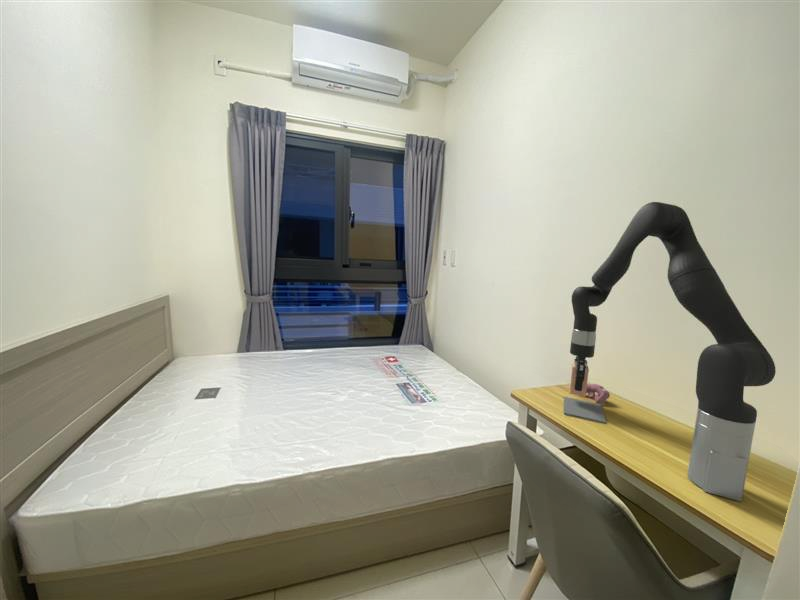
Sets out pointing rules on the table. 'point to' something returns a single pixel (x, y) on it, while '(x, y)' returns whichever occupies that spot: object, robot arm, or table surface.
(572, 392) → the peach block
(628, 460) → the table surface
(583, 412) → the charcoal mat
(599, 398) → the video game controller
